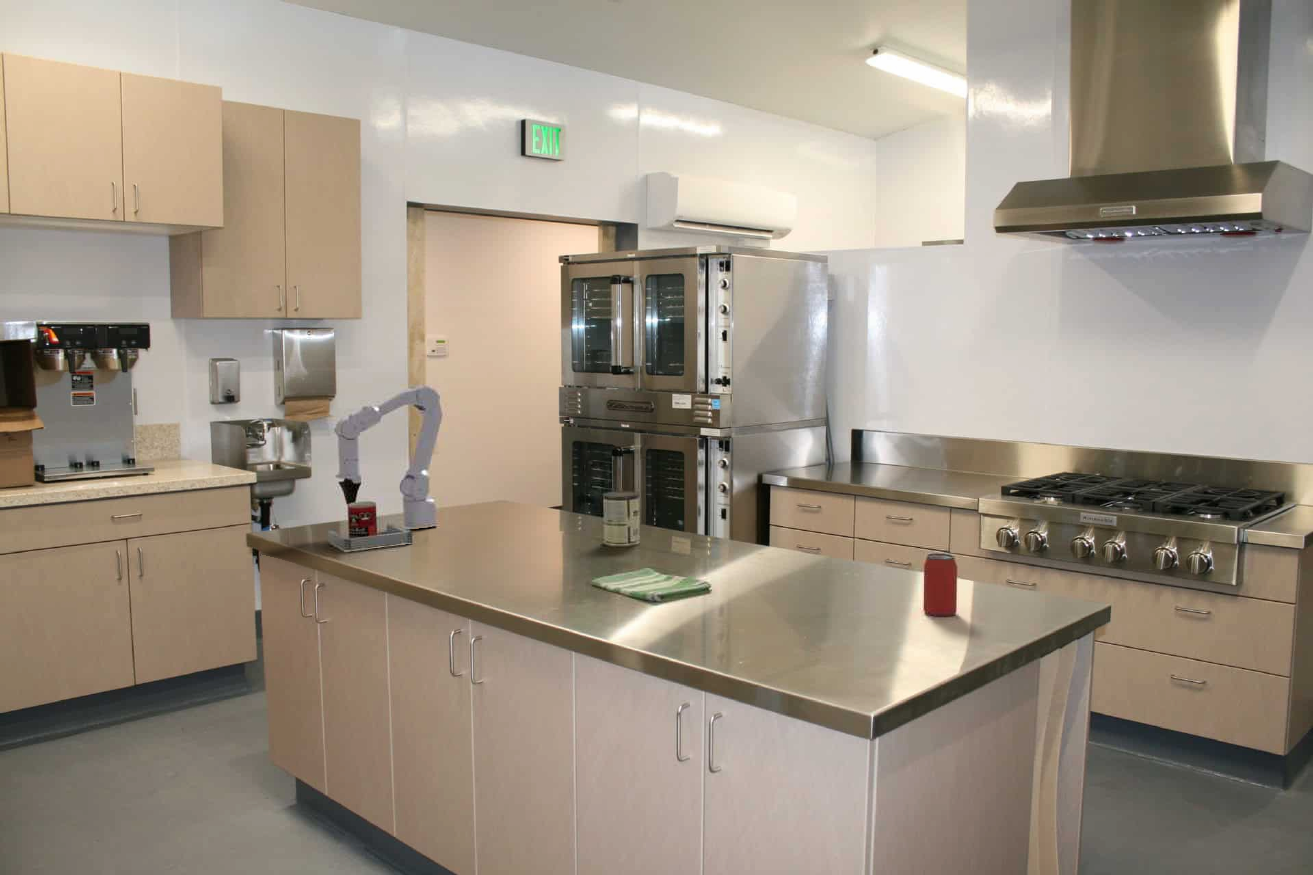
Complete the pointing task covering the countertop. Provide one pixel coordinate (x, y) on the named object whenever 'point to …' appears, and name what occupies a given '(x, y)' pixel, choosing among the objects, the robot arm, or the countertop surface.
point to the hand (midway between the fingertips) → (351, 504)
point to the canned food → (362, 519)
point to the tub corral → (372, 539)
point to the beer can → (940, 585)
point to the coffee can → (621, 518)
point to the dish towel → (652, 585)
